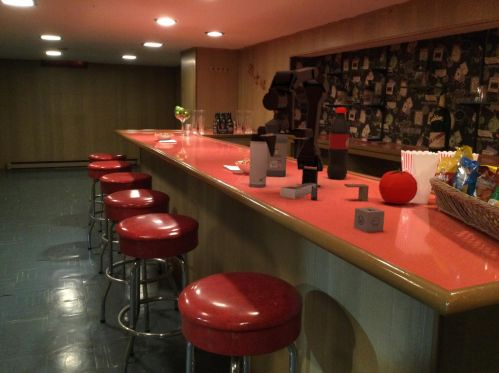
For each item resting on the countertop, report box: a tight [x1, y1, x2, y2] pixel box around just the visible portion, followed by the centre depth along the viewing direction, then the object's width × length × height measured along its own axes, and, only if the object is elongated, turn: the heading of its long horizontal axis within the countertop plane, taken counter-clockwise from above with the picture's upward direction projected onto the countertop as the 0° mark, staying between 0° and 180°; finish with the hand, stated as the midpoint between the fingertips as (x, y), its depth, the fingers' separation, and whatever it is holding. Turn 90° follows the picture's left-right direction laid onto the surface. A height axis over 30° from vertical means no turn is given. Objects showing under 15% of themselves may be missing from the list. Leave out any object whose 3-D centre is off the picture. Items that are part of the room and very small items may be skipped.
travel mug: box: [248, 133, 267, 188], centre depth 170 cm, size 6×7×20 cm
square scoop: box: [279, 183, 316, 200], centre depth 157 cm, size 16×6×3 cm, turn 143°
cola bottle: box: [326, 106, 351, 181], centre depth 195 cm, size 8×8×30 cm
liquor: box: [266, 110, 288, 178], centre depth 198 cm, size 9×9×30 cm
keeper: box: [344, 183, 370, 202], centre depth 151 cm, size 7×4×5 cm, turn 98°
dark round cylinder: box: [310, 186, 319, 201], centre depth 149 cm, size 2×2×4 cm
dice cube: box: [353, 206, 385, 233], centre depth 114 cm, size 5×5×5 cm
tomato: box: [378, 167, 418, 205], centre depth 146 cm, size 12×12×11 cm
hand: (283, 157), depth 153 cm, fingers open, 9 cm apart
